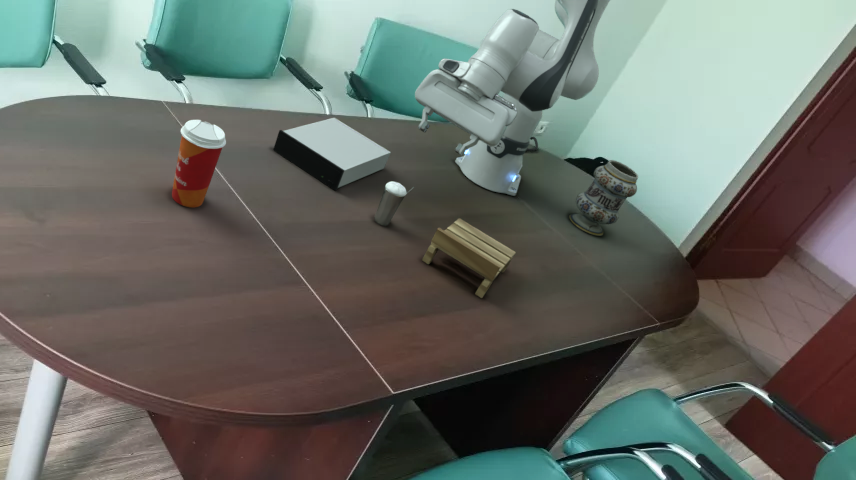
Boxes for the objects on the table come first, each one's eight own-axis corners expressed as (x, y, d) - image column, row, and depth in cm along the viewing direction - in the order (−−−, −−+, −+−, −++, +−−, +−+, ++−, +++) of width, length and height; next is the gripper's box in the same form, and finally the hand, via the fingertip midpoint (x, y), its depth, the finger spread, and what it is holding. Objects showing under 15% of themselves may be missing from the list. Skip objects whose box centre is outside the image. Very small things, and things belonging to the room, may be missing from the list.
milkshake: (393, 232, 139) (412, 191, 133) (369, 221, 139) (387, 180, 133) (396, 222, 143) (415, 183, 137) (373, 212, 143) (391, 172, 137)
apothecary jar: (614, 238, 181) (654, 182, 171) (587, 238, 174) (626, 180, 164) (584, 212, 188) (620, 157, 179) (557, 211, 181) (593, 154, 172)
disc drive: (272, 150, 149) (279, 130, 146) (327, 134, 167) (333, 115, 164) (334, 191, 144) (342, 171, 141) (384, 169, 162) (392, 151, 159)
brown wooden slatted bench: (450, 235, 147) (466, 205, 143) (505, 269, 144) (523, 239, 140) (420, 261, 133) (437, 229, 129) (480, 299, 130) (500, 267, 126)
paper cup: (169, 182, 123) (185, 113, 115) (210, 194, 125) (229, 127, 117) (162, 203, 117) (179, 132, 109) (206, 215, 119) (225, 146, 111)
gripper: (523, 114, 136) (483, 171, 137) (442, 67, 142) (405, 122, 144) (520, 103, 130) (478, 163, 131) (435, 54, 136) (397, 112, 138)
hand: (439, 141), depth 138 cm, fingers open, 8 cm apart
